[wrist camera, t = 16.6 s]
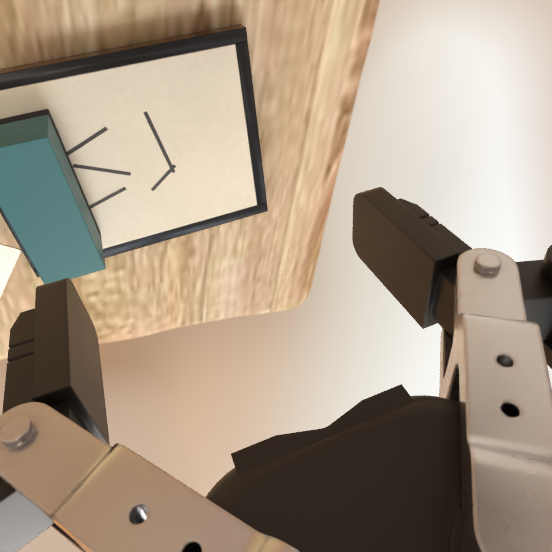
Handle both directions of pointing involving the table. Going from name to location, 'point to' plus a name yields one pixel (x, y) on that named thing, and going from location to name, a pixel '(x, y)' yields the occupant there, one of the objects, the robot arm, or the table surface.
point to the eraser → (46, 199)
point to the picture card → (7, 264)
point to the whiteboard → (153, 133)
